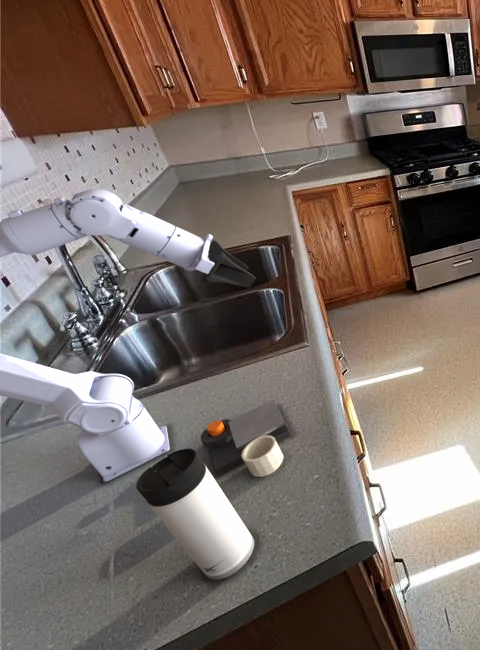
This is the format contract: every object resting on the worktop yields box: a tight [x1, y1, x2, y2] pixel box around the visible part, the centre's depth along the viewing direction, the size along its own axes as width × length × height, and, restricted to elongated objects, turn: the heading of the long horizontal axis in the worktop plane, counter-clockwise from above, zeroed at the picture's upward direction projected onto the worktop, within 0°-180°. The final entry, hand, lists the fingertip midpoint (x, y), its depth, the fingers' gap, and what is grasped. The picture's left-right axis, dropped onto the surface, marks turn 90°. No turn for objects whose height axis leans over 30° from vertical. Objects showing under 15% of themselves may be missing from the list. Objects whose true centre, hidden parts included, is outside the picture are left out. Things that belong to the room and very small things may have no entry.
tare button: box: [206, 419, 225, 437], centre depth 77 cm, size 2×2×2 cm
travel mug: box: [135, 447, 255, 581], centre depth 55 cm, size 6×7×20 cm
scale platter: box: [228, 399, 287, 450], centre depth 77 cm, size 8×8×1 cm
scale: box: [199, 418, 292, 476], centre depth 78 cm, size 13×11×3 cm
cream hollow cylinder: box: [242, 436, 284, 478], centre depth 72 cm, size 5×5×4 cm
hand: (249, 276), depth 78 cm, fingers open, 7 cm apart
